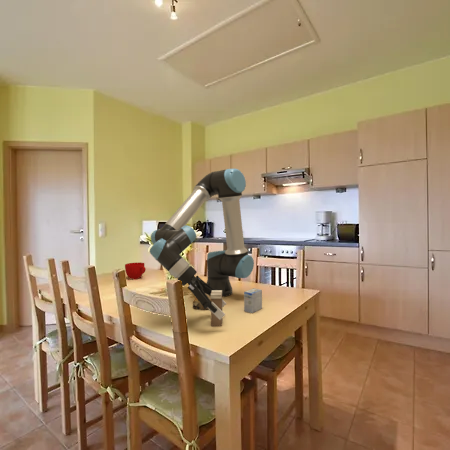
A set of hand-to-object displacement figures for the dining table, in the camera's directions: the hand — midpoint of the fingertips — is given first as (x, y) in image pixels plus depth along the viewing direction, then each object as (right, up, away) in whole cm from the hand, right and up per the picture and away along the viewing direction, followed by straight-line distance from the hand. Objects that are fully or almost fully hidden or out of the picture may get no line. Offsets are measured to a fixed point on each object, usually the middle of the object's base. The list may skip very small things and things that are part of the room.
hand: (223, 311), depth 105 cm
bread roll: (-9, -5, +20) cm, 23 cm away
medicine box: (+13, -4, +15) cm, 20 cm away
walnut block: (-3, -5, 0) cm, 5 cm away
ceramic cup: (-60, -4, +83) cm, 103 cm away
